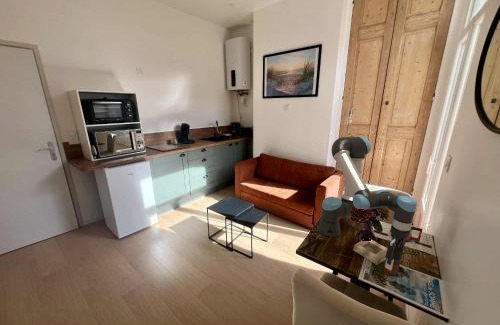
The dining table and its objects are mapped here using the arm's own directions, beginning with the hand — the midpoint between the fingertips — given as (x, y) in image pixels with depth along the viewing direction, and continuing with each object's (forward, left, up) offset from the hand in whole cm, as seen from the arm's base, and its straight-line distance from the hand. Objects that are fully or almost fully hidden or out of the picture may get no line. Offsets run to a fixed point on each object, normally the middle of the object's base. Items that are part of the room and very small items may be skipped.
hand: (391, 265), depth 106 cm
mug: (-10, +38, -4) cm, 40 cm away
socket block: (-13, +6, -4) cm, 15 cm away
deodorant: (0, 0, -4) cm, 4 cm away
